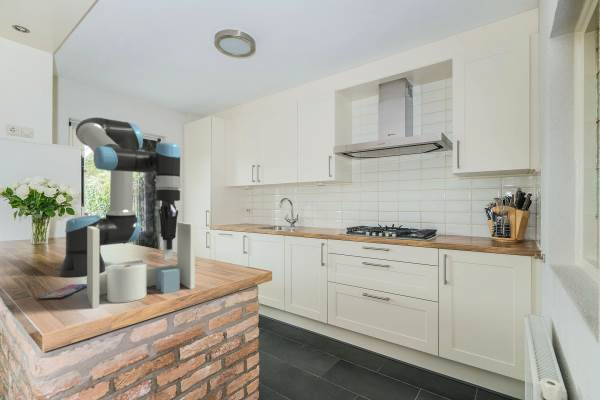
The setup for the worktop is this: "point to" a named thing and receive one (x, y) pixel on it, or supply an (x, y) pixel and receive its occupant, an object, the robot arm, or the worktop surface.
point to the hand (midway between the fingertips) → (167, 258)
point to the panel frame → (184, 264)
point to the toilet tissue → (126, 281)
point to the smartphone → (63, 292)
